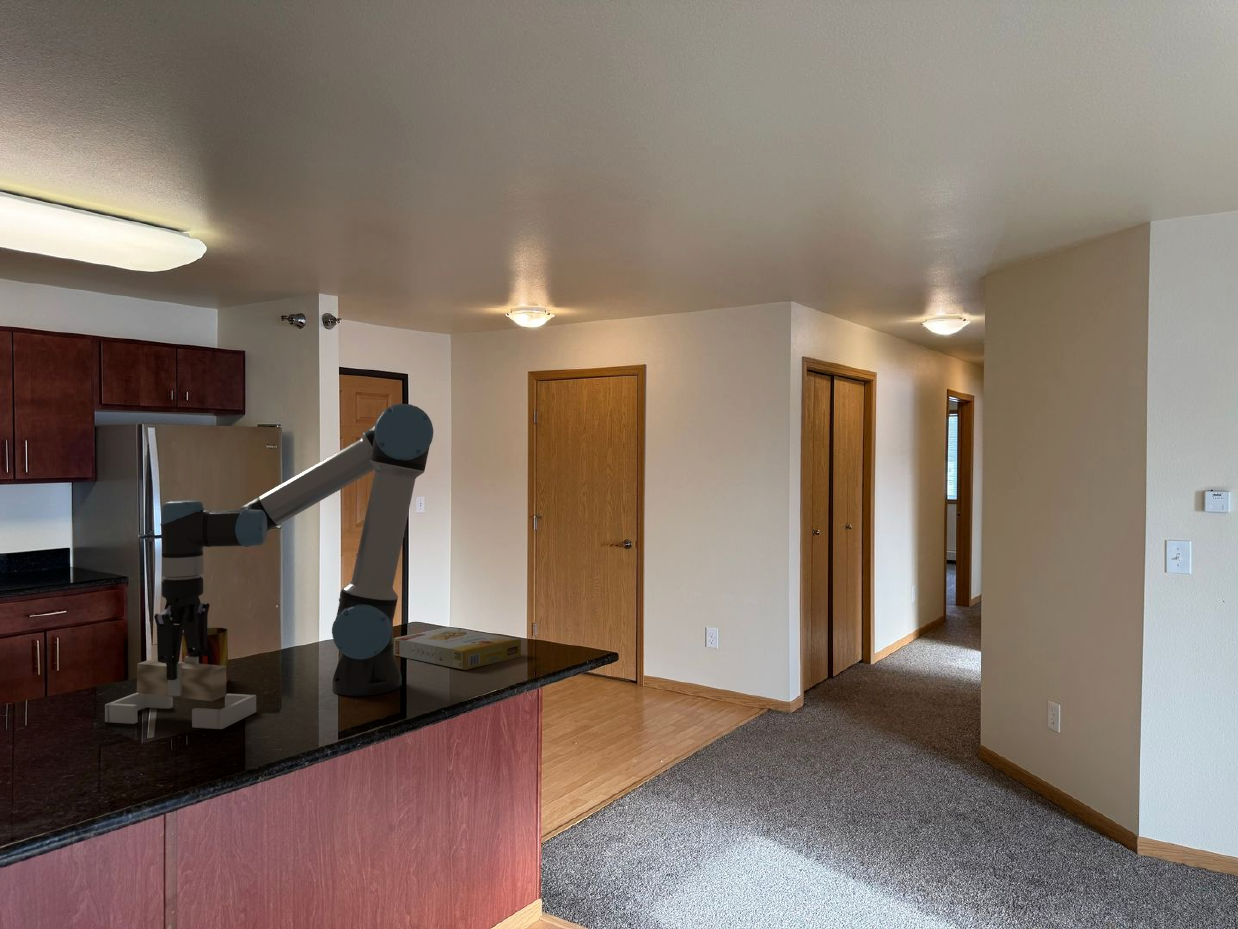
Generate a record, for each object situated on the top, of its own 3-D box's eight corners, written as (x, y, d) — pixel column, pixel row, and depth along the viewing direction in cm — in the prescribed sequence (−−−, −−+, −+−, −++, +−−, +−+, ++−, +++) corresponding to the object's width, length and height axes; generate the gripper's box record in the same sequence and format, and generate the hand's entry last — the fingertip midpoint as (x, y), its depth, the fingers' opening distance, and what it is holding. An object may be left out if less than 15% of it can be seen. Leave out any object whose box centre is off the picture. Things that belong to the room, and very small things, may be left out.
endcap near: (256, 712, 174) (256, 695, 174) (221, 729, 163) (221, 711, 163) (228, 710, 175) (227, 693, 175) (192, 727, 165) (191, 709, 165)
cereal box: (464, 650, 206) (391, 635, 222) (464, 673, 205) (391, 656, 222) (522, 637, 222) (449, 624, 239) (522, 658, 222) (449, 644, 239)
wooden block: (226, 695, 171) (226, 666, 171) (211, 701, 167) (212, 671, 167) (152, 687, 175) (152, 659, 175) (137, 693, 171) (137, 663, 171)
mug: (203, 694, 188) (203, 640, 188) (174, 684, 196) (173, 632, 196) (245, 684, 196) (244, 633, 195) (215, 675, 204) (214, 625, 204)
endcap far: (105, 722, 168) (104, 704, 168) (145, 705, 179) (145, 689, 179) (133, 723, 167) (133, 706, 167) (172, 707, 178) (172, 690, 178)
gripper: (194, 570, 180) (195, 679, 180) (134, 582, 163) (135, 703, 163) (226, 571, 179) (227, 681, 179) (168, 583, 162) (169, 705, 162)
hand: (183, 691), depth 171 cm, fingers closed on wooden block, 4 cm apart
